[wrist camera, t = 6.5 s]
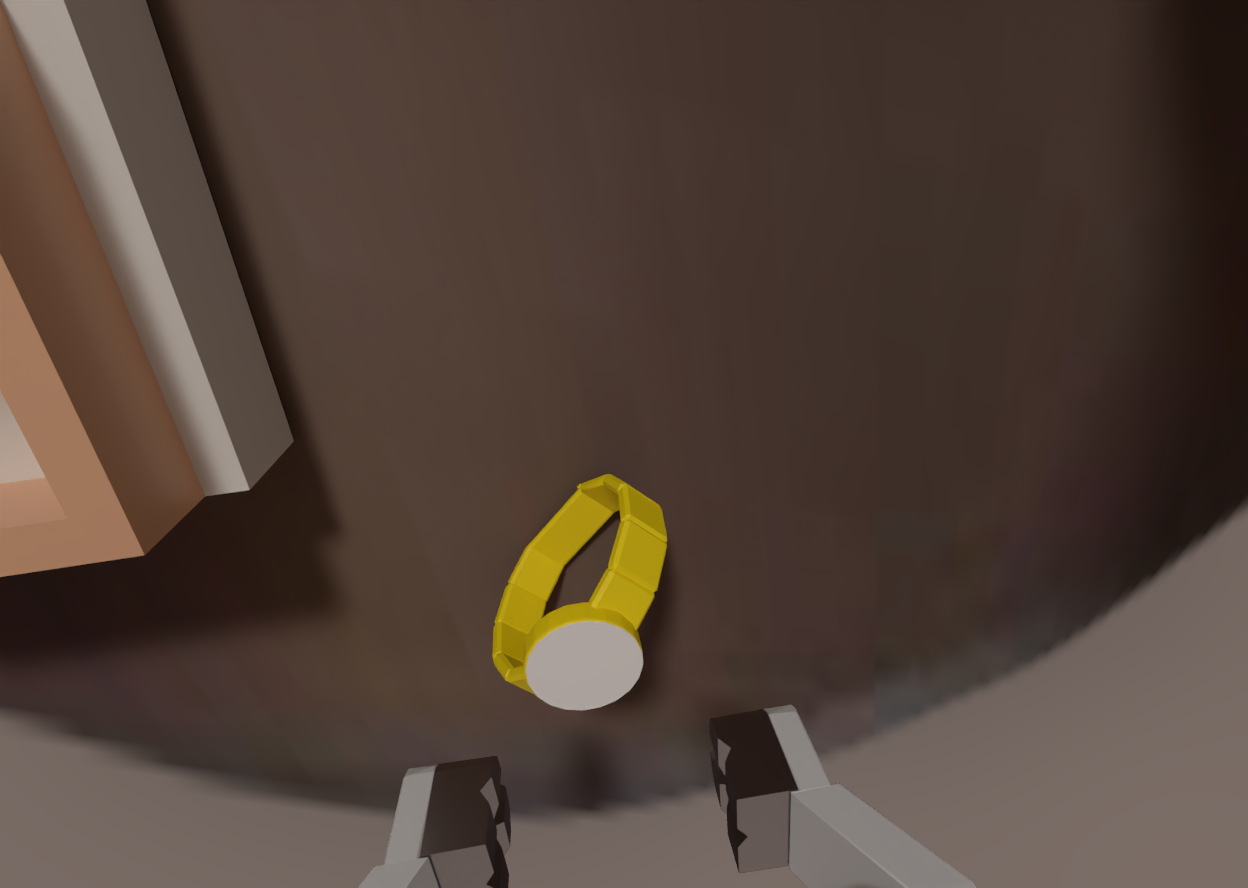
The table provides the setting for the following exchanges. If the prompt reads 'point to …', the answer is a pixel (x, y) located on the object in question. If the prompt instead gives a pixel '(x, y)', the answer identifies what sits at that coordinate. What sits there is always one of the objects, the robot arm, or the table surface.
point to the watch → (584, 632)
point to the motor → (113, 299)
